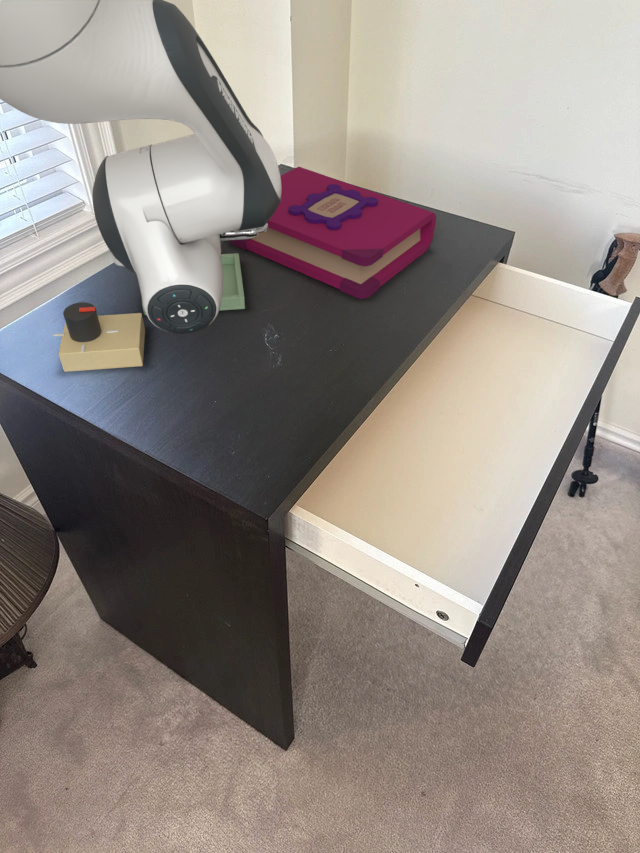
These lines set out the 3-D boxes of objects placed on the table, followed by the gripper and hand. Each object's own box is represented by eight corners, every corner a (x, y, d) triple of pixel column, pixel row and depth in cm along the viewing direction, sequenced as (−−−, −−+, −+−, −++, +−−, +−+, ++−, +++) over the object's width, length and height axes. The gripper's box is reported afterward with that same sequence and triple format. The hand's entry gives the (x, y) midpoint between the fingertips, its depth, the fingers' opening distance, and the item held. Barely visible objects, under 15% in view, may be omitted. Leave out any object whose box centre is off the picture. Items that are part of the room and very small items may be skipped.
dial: (68, 343, 81) (60, 319, 79) (71, 325, 84) (64, 301, 81) (100, 341, 82) (93, 316, 79) (102, 323, 85) (96, 299, 82)
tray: (144, 315, 91) (141, 303, 90) (147, 269, 100) (144, 258, 99) (245, 309, 93) (244, 296, 92) (239, 264, 102) (238, 253, 101)
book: (303, 200, 119) (303, 159, 114) (432, 247, 108) (439, 205, 102) (227, 242, 107) (223, 199, 102) (363, 301, 96) (367, 256, 90)
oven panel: (55, 373, 82) (48, 354, 79) (63, 335, 87) (57, 316, 85) (142, 366, 83) (138, 347, 81) (145, 330, 89) (141, 311, 87)
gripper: (268, 208, 74) (258, 161, 84) (89, 216, 72) (100, 167, 81) (270, 256, 79) (260, 206, 88) (101, 266, 76) (110, 213, 86)
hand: (182, 187), depth 85 cm, fingers closed on box, 8 cm apart
